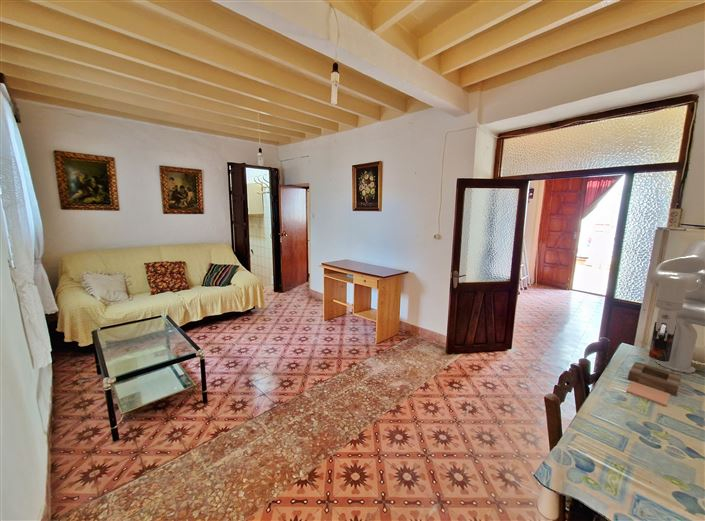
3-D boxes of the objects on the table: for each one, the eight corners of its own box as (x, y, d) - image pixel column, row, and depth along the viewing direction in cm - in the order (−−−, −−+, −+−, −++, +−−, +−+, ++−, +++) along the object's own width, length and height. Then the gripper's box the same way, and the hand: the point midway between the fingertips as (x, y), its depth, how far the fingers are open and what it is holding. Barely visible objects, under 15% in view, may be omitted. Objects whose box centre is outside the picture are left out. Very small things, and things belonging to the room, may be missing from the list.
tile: (631, 382, 122) (632, 381, 121) (669, 395, 113) (670, 394, 113) (626, 392, 115) (626, 390, 115) (666, 406, 106) (666, 404, 106)
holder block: (634, 369, 132) (635, 361, 132) (679, 383, 121) (681, 375, 121) (627, 379, 124) (629, 371, 123) (676, 396, 113) (678, 387, 112)
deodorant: (673, 361, 118) (680, 327, 115) (658, 361, 118) (664, 326, 116) (659, 354, 124) (665, 321, 121) (644, 354, 124) (650, 321, 122)
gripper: (680, 312, 109) (671, 356, 112) (684, 302, 119) (676, 343, 122) (652, 306, 115) (644, 348, 118) (658, 298, 125) (651, 337, 128)
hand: (661, 345), depth 120 cm, fingers closed on deodorant, 6 cm apart
